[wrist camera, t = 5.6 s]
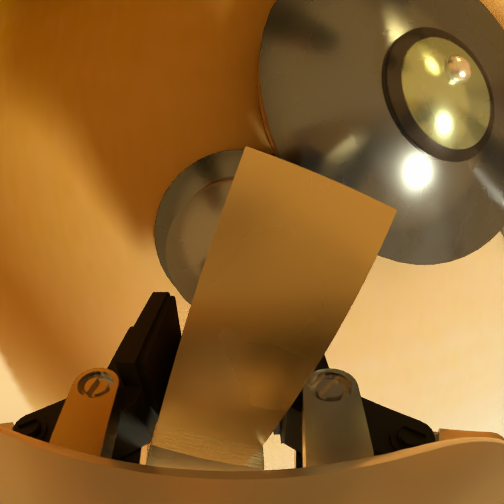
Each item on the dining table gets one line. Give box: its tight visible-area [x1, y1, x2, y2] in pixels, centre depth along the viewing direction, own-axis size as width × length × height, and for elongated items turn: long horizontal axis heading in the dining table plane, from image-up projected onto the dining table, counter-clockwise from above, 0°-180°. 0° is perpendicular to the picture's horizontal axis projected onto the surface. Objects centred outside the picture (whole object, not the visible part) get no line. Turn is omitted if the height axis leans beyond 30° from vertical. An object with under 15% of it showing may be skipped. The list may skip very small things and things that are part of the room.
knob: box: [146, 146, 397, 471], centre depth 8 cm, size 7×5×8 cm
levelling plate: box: [155, 0, 504, 286], centre depth 10 cm, size 22×24×4 cm
